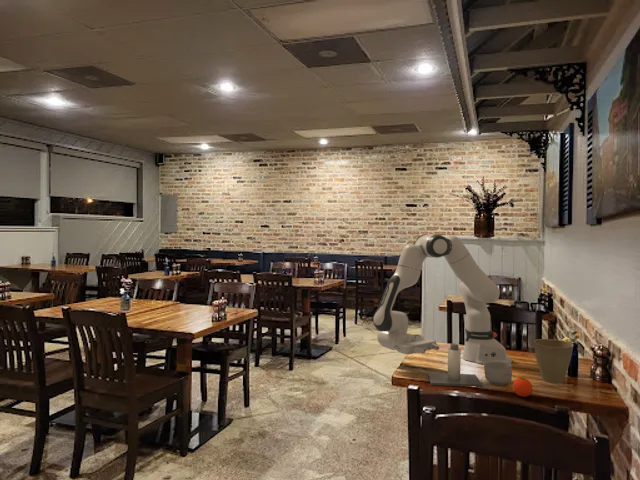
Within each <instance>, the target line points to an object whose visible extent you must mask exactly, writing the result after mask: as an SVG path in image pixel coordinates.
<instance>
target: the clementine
mask: <svg viewBox="0 0 640 480" xmlns="http://www.w3.org/2000/svg"><path fill="white" fill-rule="evenodd" d="M533 388H534V387H533V383H532V382H531V381H530V380H529V379H528V378H526V377H524V376H522V377H518V378H516V379H515V380H514V381H513V383H512V389H513V391H514V393H515V394H516V395H518V396H519V397H520V398H521V397H522V398H524V397H528V396H530V395H531V394H532V392H533Z"/></svg>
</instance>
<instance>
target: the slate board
mask: <svg viewBox="0 0 640 480" xmlns="http://www.w3.org/2000/svg"><path fill="white" fill-rule="evenodd" d="M427 378H428V380H429V379H430V380H429V383H430V385H431V386H442V387H443V386H445V387H463V386H476V387H475V388H483V386H484V385H483V383H482V382H481V381H480V379H479V377H478V376H477V375H476V373H475V374H474V373H473V374H472V373H471V374H469V373H460V380H450V379H448V372H447V373H446V372H430V371H429V372H427Z"/></svg>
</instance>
